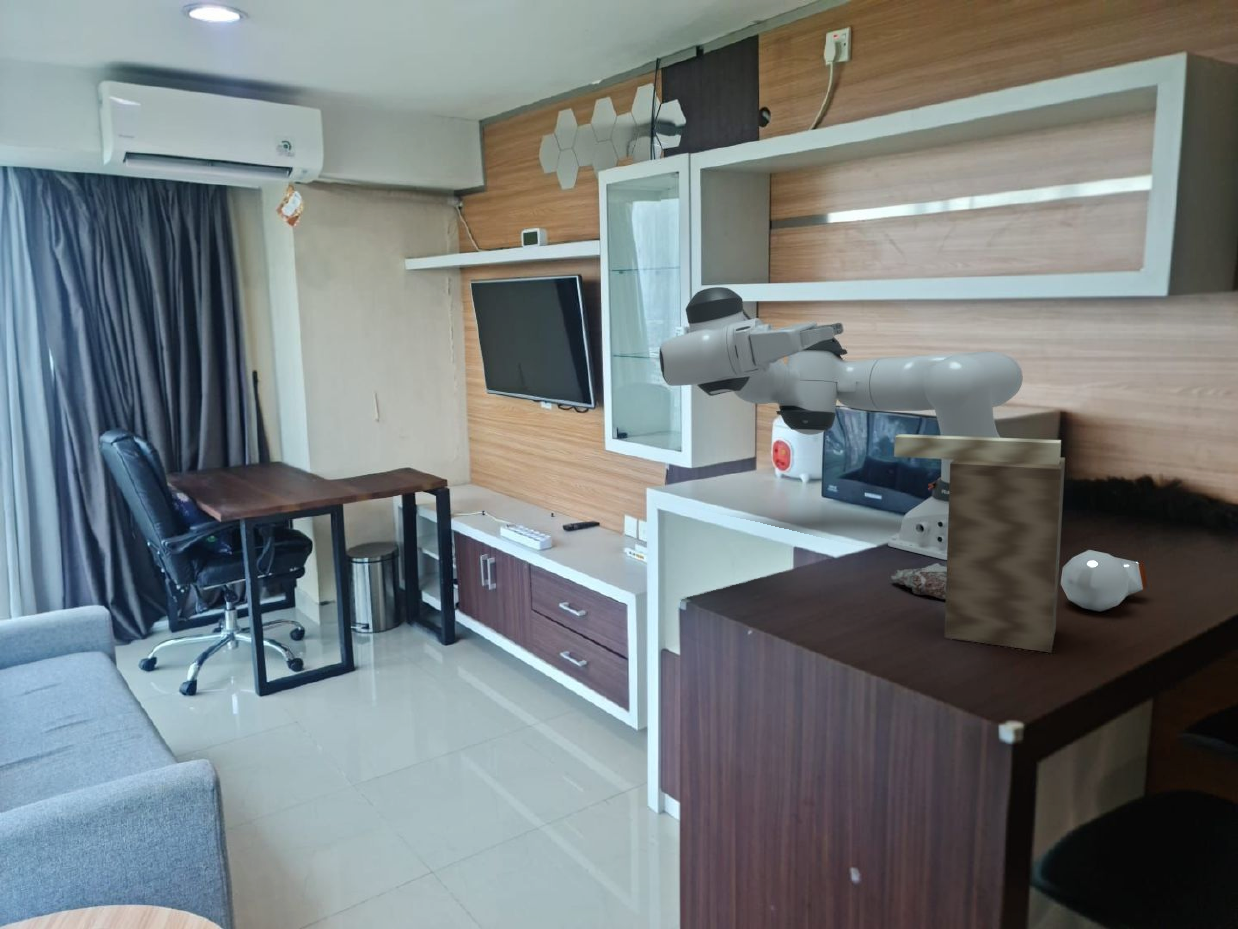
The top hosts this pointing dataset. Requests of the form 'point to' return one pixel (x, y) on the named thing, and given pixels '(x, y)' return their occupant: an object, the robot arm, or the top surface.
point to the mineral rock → (924, 580)
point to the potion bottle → (1101, 580)
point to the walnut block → (1004, 552)
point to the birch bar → (978, 448)
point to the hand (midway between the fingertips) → (838, 329)
